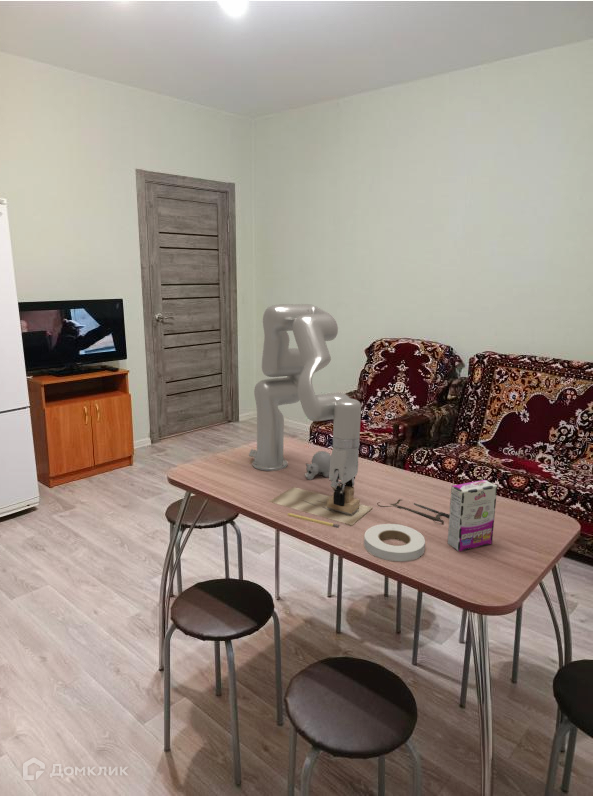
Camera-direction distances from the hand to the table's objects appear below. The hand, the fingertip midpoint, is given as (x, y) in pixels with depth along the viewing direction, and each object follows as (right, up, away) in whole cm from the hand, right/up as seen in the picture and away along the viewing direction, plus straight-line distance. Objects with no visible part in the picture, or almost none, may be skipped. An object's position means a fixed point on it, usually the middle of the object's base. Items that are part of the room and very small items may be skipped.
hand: (343, 500), depth 159 cm
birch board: (-7, -2, +5) cm, 8 cm away
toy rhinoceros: (-6, +3, +28) cm, 29 cm away
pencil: (-10, -5, -6) cm, 12 cm away
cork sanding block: (0, -2, +1) cm, 2 cm away
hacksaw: (+22, -4, +1) cm, 22 cm away
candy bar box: (+31, -8, -17) cm, 36 cm away
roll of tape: (+11, -9, -19) cm, 23 cm away
